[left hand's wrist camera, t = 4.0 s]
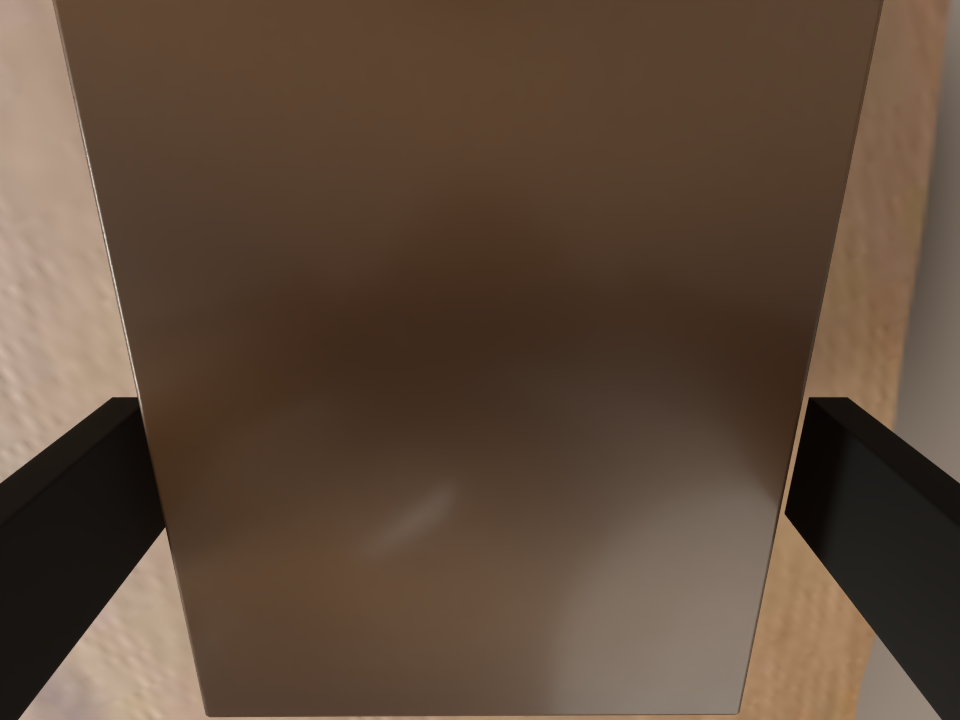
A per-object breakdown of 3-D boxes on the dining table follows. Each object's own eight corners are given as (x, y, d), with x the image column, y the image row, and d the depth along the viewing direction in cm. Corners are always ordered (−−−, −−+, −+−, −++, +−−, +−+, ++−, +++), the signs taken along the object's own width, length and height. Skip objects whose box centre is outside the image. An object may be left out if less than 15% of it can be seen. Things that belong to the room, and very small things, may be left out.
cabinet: (279, -101, 17) (-55, -477, 6) (665, -100, 17) (982, -471, 7) (331, 440, 23) (204, 719, 13) (617, 440, 23) (740, 716, 13)
